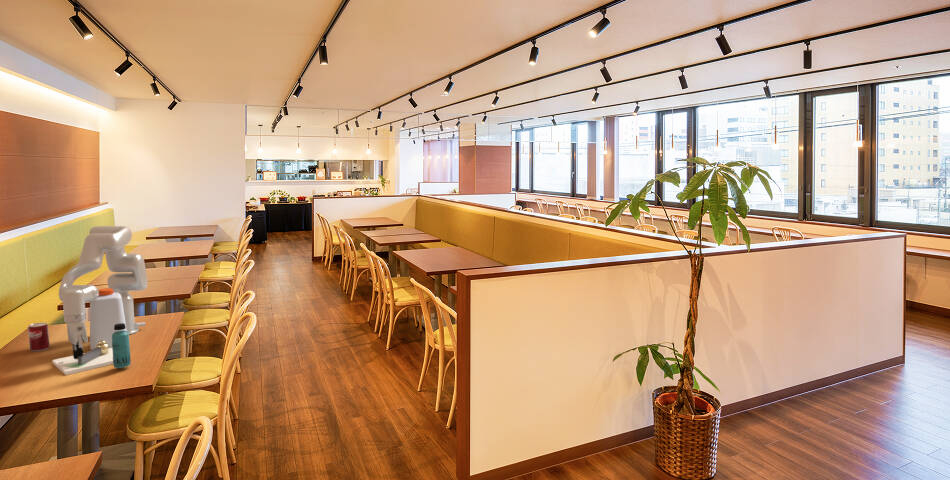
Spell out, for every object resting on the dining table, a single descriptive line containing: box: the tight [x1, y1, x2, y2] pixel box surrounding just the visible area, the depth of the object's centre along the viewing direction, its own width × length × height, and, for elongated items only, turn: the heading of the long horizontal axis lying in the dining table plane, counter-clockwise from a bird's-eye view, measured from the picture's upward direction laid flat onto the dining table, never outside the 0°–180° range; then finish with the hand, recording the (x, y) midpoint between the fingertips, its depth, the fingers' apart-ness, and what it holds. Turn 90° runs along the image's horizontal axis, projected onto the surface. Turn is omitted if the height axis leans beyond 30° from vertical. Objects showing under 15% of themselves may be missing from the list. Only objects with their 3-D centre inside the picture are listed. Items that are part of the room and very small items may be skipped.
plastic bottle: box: [89, 287, 127, 351], centre depth 256 cm, size 15×15×28 cm
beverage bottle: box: [112, 323, 132, 369], centre depth 229 cm, size 6×7×20 cm
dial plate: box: [51, 347, 114, 376], centre depth 237 cm, size 23×20×2 cm
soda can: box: [27, 322, 51, 352], centre depth 251 cm, size 7×7×12 cm
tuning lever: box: [78, 340, 108, 364], centre depth 236 cm, size 17×4×6 cm, turn 2°
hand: (78, 358), depth 233 cm, fingers closed
